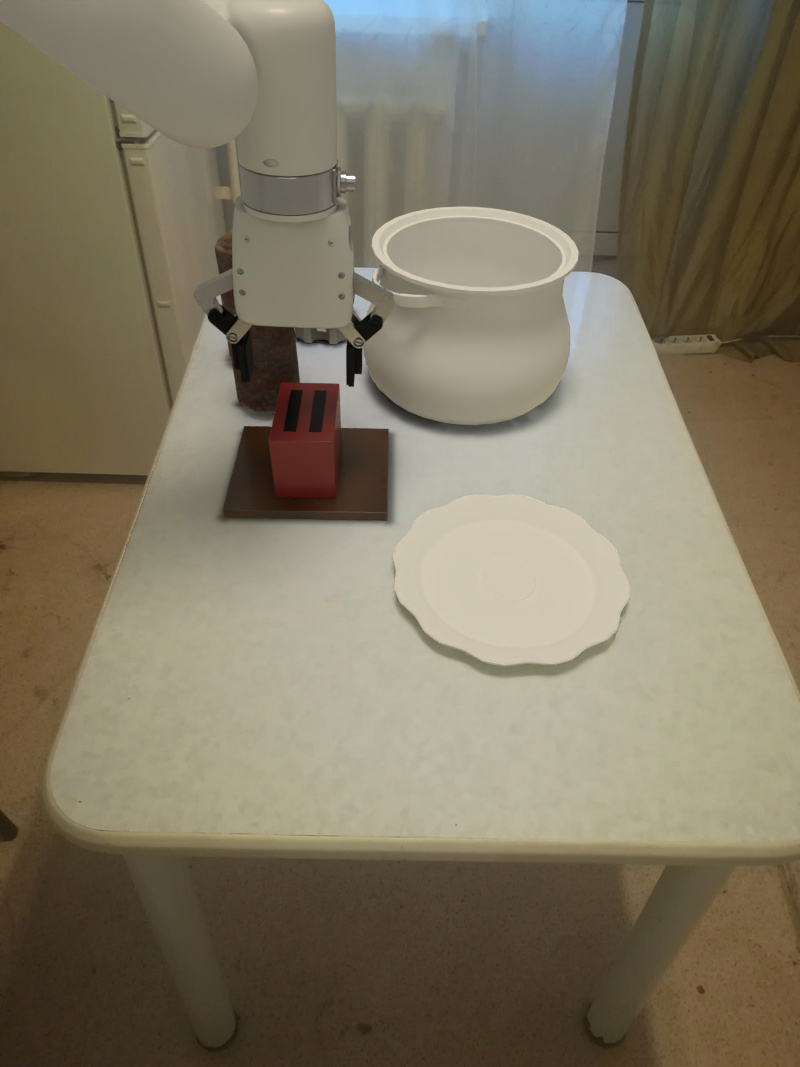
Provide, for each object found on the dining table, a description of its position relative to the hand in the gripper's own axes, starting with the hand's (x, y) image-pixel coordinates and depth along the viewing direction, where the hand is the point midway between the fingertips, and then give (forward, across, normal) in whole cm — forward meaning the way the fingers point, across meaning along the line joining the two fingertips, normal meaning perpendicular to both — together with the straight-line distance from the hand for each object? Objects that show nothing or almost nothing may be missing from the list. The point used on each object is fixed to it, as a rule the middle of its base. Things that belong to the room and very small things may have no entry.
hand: (299, 377), depth 70 cm
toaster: (+11, 0, 0) cm, 11 cm away
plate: (+12, -20, +15) cm, 27 cm away
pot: (+11, -18, -19) cm, 29 cm away
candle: (+12, +5, -13) cm, 19 cm away
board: (+12, -1, 0) cm, 12 cm away
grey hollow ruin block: (+12, 0, -32) cm, 34 cm away
